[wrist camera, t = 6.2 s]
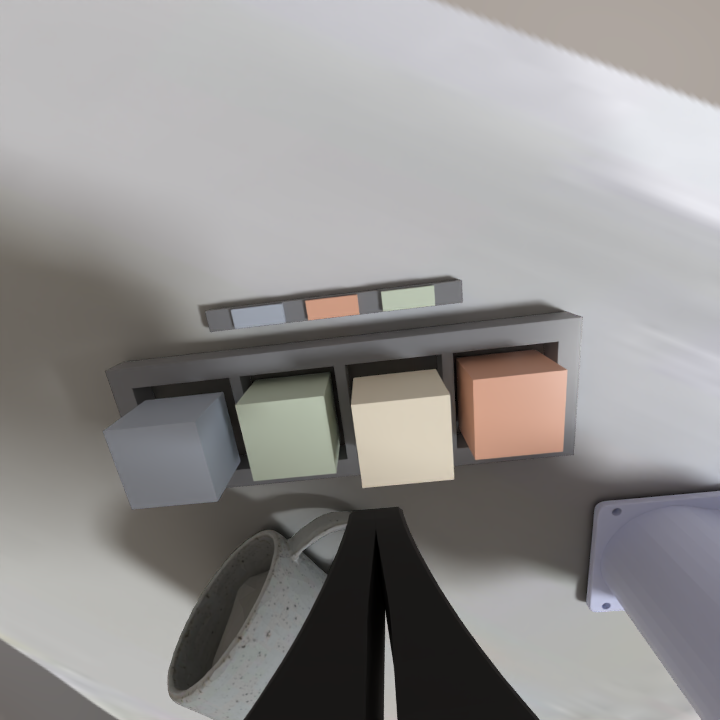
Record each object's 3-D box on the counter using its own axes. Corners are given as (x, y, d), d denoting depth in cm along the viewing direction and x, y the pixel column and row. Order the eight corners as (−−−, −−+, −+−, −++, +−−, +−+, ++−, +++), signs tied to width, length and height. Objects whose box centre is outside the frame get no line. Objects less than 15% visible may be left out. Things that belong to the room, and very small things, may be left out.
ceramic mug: (302, 642, 25) (277, 810, 17) (205, 574, 23) (131, 729, 16) (419, 552, 22) (448, 701, 15) (321, 470, 21) (301, 593, 13)
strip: (459, 279, 17) (463, 280, 16) (460, 300, 17) (463, 303, 17) (209, 309, 18) (203, 312, 17) (214, 329, 18) (208, 332, 17)
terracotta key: (534, 349, 18) (567, 369, 15) (533, 419, 19) (563, 451, 16) (455, 357, 18) (472, 379, 15) (458, 427, 19) (475, 459, 16)
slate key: (223, 392, 17) (194, 421, 14) (240, 461, 18) (217, 501, 16) (145, 400, 18) (102, 431, 15) (167, 468, 19) (131, 509, 16)
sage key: (330, 371, 18) (323, 395, 15) (340, 439, 19) (336, 473, 17) (255, 379, 18) (235, 405, 16) (269, 446, 20) (253, 481, 17)
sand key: (435, 368, 17) (450, 394, 14) (440, 441, 18) (454, 479, 15) (353, 377, 17) (350, 405, 14) (363, 449, 18) (362, 488, 15)
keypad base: (566, 311, 18) (582, 316, 16) (559, 440, 20) (573, 454, 18) (123, 361, 19) (105, 371, 17) (162, 478, 21) (148, 495, 19)
